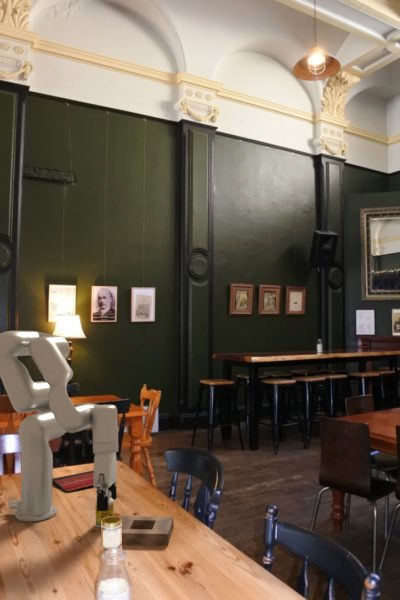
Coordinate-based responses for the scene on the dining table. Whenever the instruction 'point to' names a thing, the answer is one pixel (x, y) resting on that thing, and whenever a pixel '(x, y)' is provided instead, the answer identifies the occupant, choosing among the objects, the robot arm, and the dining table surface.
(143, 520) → the socket block
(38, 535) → the dining table surface
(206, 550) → the dining table surface
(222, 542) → the dining table surface
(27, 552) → the dining table surface
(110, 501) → the supplement bottle
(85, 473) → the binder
